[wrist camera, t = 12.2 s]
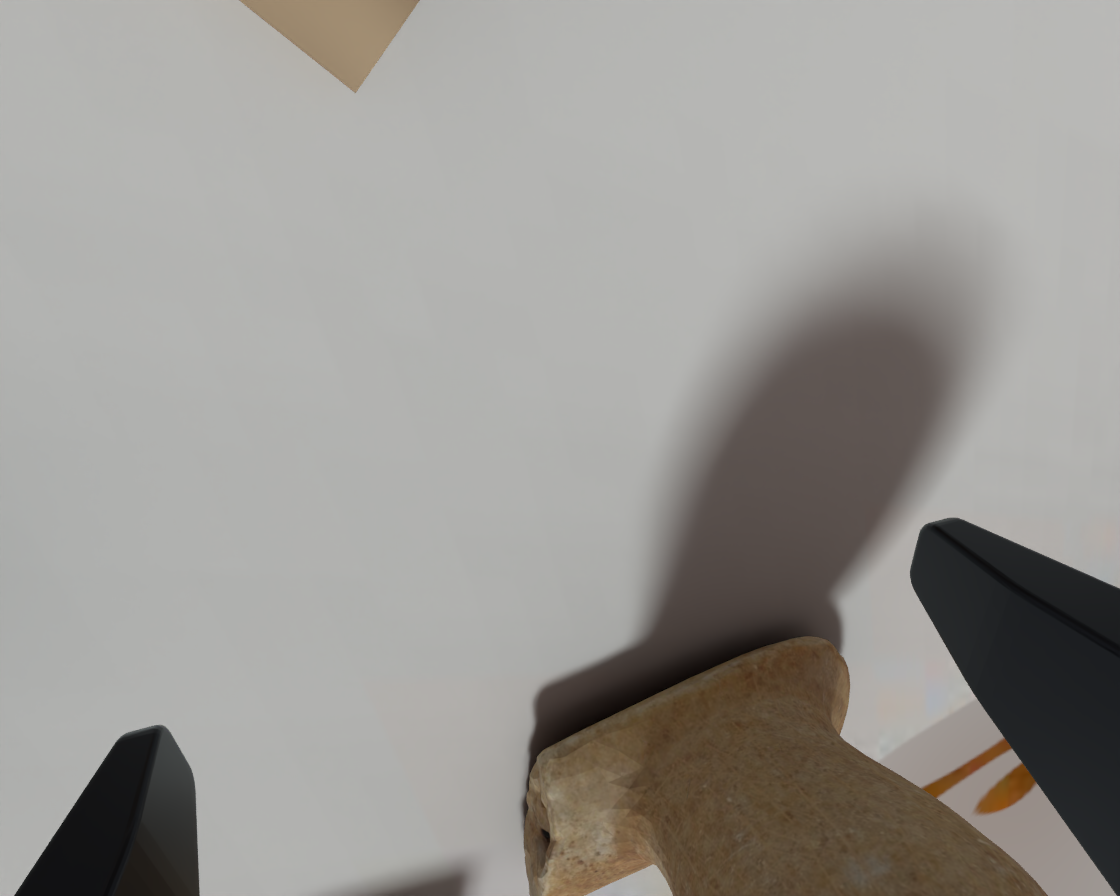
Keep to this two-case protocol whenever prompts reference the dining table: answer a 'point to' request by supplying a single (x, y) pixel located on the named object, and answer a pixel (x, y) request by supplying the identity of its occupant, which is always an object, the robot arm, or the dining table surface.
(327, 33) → the wooden compartment tray
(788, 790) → the stone cup
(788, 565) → the dining table surface
